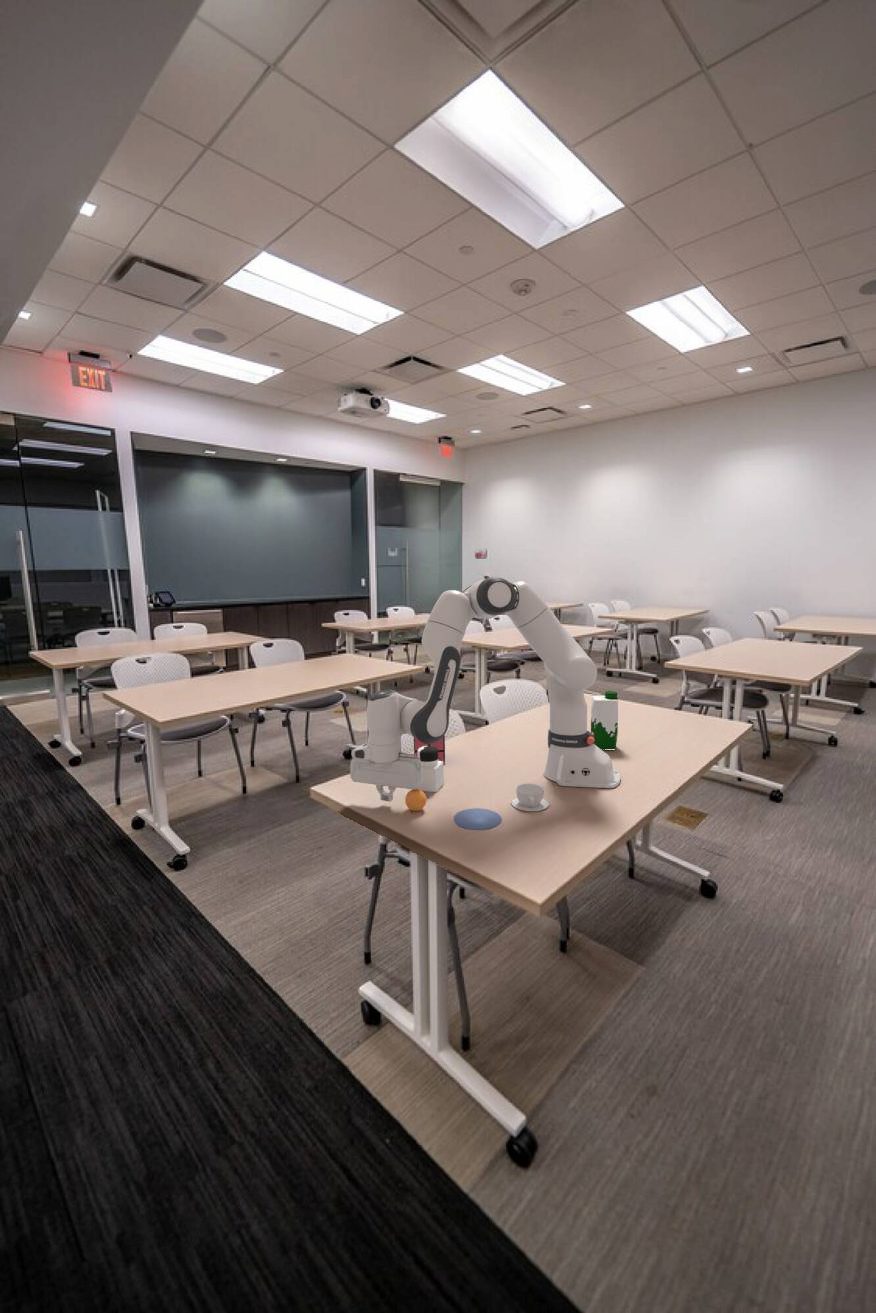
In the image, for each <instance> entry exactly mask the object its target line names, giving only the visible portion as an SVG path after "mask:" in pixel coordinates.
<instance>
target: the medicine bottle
mask: <svg viewBox="0 0 876 1313" xmlns="http://www.w3.org/2000/svg"><path fill="white" fill-rule="evenodd" d="M418 757H419V758H420V760H421V774H422V784H421V786H420V787H419V788H417V789H419V790H421V791H423V792H429V793H437V792H438V791H439V790H440V788H441V787H442V786H443V785H444V782H445V781H444V779H445V778H444V765H443V761H438V749H437V748H436V747H433V746H423V747H421V748H419V749H418Z"/></svg>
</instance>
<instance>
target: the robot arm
mask: <svg viewBox="0 0 876 1313" xmlns="http://www.w3.org/2000/svg"><path fill="white" fill-rule="evenodd" d="M501 615H505V616H507V617H508V619H510V620H511V622H512V624H514V626H515V627H516V629H517V630H518V631H519V633H520V635H521V636H522V637H523V638H524V640H525V641H526V643H527V644H528V646H530V648H531V649H532V650H533V651H534V652H535V653H536V655H537V656H538V658H540V659H541V660H542V662H543V668H544V671H545V679H546V687H547V693H548V694H547V695H548V703H549V729H548V730H547V747H548V754H547V760H546V764H545V768H544V771H543V776H544V777H545V778H546V779H548V780H550V781H552V782H555V783H556V784H558V785H559V786H562V787H578V788H579V787H580V788H598V789H600V788H601V789H603V788H604V789H613V788H616V787H617V786H619V785H620V783H621V781H620V780H621V774H620V773H619V771H618V770H616V769H614V766H613V762H612V759H611V757H610V755H609V754H607V753H606V752H605V750H601V749H600V748H598V747H597V746H596V745H595V744H593V743H594V735H593V732H592V733H591V731H589V730H588V703H587V701H586V698H585V697H586V696H585V691H584V690H587V689H589V688H590V687H592V685H594V683H595V682H596V680H597V677H598V668H597V666H596V663H595V662H594V661H593V660H592V658H591V657H590V656H589V655H588V654H587V652H586V651H585V650H584V648H583V647H581V645H580V644H579V643H578V642H577V641H576V639H575V638H574V637H573V635H572V634H570V633H569V632H568V631H567V629H566V628H565V627H564V626H563V625H562V623H561V622H560V620H559V619H558V618H557V616H556V615H555V614H554V612H553V610H552V609H551V608H550V606H549V605H548V604H547V602H546V601H545V600H544V599H543V597H542V596H541V594H540V593H538V592H537V591H536V589H535V588H534V587H533V586H532V585H530V584H529V583H528V582H527V581H523V580H519V581H515V582H513V583H511V582H510V581H509V580H507V579H504V578H503V577H499V576H491V577H490V576H489V577H487V578H484V579H481V580H478V581H476V582H475V583H473V584H472V585H469V586H468V587H466V588H465V589H464V590H463V591H462V592H461V591H459V590H454V589H449V590H446V591H444V592H442V593H441V594H440V596H439V597H438V599H437V600H436V603H435V604H434V606H433V608H432V610H431V612H430V614H429V617H428V619H427V620H426V623H425V625H424V626H425V627H424V629H423V632H422V637H421V646H422V648H423V650H424V652H425V654H426V655H427V656H428V657H429V658H430V659H431V661H432V663H433V667H434V673H433V679H432V682H431V685H430V689H429V692H428V697H427V699H426V701H425V702H424V701H422V700H419V699H417V698H414V697H413V698H412V697H408V696H405V695H402V694H400V693H399V692H397V691H396V690H394V689H383V690H378V691H376V692H374V693H372V694H371V695H370V696H369V698H368V700H367V703H366V704H367V705H366V706H367V707H366V726H367V729H368V738H367V742H366V743H363V744H360V745H358V746H357V747H355V748H354V749H353V750H352V751H351V757H352V759H351V761H350V767H349V771H350V772H349V773H350V774H349V776H350V779H351V781H352V782H353V783H360V784H367V785H374V786H375V789H376V790H377V792H378V793H379V796H380V797H379V798H380V801H384V802H393V800H394V794H395V792H396V789H398V788H399V789H404V790H405V789H406V790H416V789H417V788H419V787H420V786H421V784H422V774H421V760H420V758H419V757H417V756H416V755H415V754H414V753H407V752H402V736H403V735H405V734H407V735H408V736H410V737H413V738H414V737H415V738H416V739H417V740H419V741H420V742H422V743H424V744H433V743H436V742H437V741H439V740H440V739H441V738H442V737H443V736H444V735H446V733H447V731H448V729H449V724H450V708H451V704H452V700H453V697H454V693H455V689H456V685H457V680H458V677H459V672H460V667H461V661H462V660H461V648H462V642H463V639H464V637H465V634H466V631H467V627H468V626H469V625H470V623H471V621H472V620H476V621H482V620H488V619H492V618H495V617H497V616H501ZM384 787H388V788H387V789H388V791H389V792H386V790H385V788H384Z"/></svg>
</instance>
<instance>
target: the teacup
mask: <svg viewBox="0 0 876 1313" xmlns="http://www.w3.org/2000/svg"><path fill="white" fill-rule="evenodd" d="M515 791H516V792H515V793H516V797H515V798H513V799H512V800H511V802H510V803H511V805H512V806H513V808H514V809H515V808H516V809H517V810H520V811H526V812H540V811H543V810H545V809H547V808H548V807H549V805H550V803H549V802H548V800H546V799H544V792H545V788H544V787H543V786H542V785H540V784H536V783H531V782H530V783H520V784H518V785H516V787H515Z"/></svg>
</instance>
